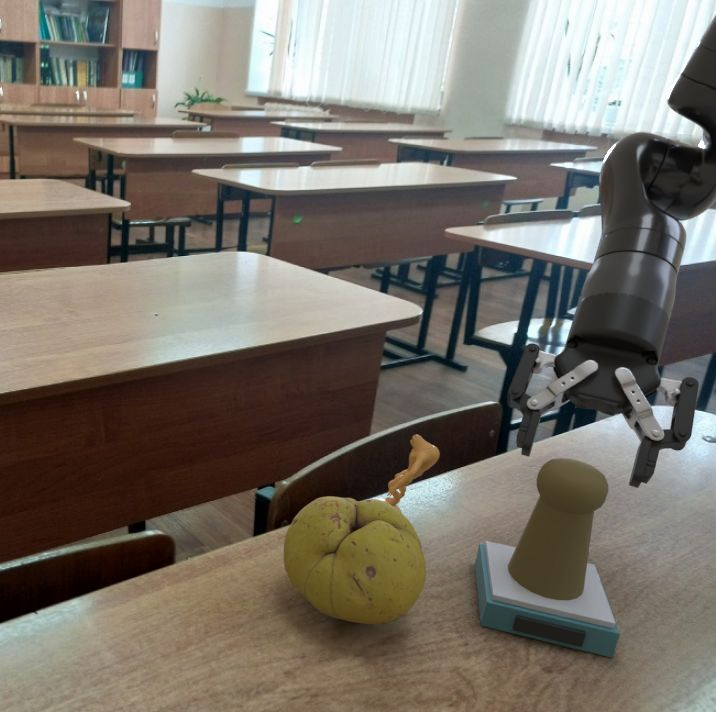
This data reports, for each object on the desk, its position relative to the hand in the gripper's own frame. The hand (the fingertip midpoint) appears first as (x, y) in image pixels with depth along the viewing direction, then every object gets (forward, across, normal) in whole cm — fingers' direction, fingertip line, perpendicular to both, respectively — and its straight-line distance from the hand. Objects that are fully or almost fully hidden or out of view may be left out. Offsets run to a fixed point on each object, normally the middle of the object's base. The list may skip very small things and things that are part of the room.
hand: (578, 468), depth 63 cm
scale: (+12, 0, +6) cm, 13 cm away
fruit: (+19, -14, -1) cm, 24 cm away
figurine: (+10, -14, +7) cm, 19 cm away
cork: (+9, 0, +4) cm, 10 cm away
